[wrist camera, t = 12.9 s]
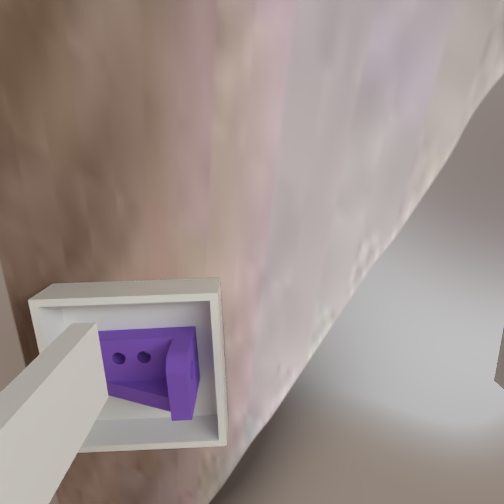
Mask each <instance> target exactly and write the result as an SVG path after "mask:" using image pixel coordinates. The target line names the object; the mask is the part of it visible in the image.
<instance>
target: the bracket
mask: <svg viewBox="0 0 504 504" xmlns="http://www.w3.org/2000/svg"><path fill="white" fill-rule="evenodd" d="M98 335H99V341H100V347H101V353H102V359H103V366H104V372H105V378H106V384H107V390H108V395H109V396H113V397H116V398H120V399H124V400H128V401H132V402H135V403H139V404H143V405H147V406H151V407H154V408H158V409H162V410H166V411H170V412H171V419H172V421H180V420H192V418H193V413H194V408H195V403H196V397H197V392H198V387H199V381H200V371H199V360H198V349H197V338H196V328H195V326H187V327H166V328H146V329H126V330H106V331H98ZM144 351H145V352H148V353H149V354H148V353H145V352H144ZM121 353H122V354H121Z"/></svg>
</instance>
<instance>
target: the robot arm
mask: <svg viewBox="0 0 504 504" xmlns="http://www.w3.org/2000/svg"><path fill="white" fill-rule="evenodd" d="M494 380H495V382H497V383H498V384H499V385H500V386H501V387H502V388H503V389H504V330H503V335H502V341H501V346H500V352H499V357H498V363H497V368H496V374H495V379H494ZM108 397H109V396H108V390H107V384H106V378H105V372H104V366H103V359H102V353H101V347H100V341H99V335H98V329H97V323H96V322H90V323H72V324H71V325H70V326H68V327H67V328H66V329H65V330H64V331H63V332H62V333H61V334H60V335H59V336H58V337H57V338H56V339H55V340H54V341H53V342H52V343H51V344H50V345H49V346H48V347H47V348H46V349H45V350H44V351H43V352H42V353H41V354H40V355H38V356H37V357H36V358H35V359H34V360H33V361H32V362H31V363H30V364H29V365H28V366H27V367H26V368H25V369H24V370H23V371H22V372H21V373H20V374H19V375H18V376H17V377H16V378H15V379H14V380H13V381H12V382H11V383H10V384H8V385H7V387H5V388H4V389H3V390H2V391H1V392H0V504H49V503H50V501H51V499H52V497H53V495H54V494H55V492H56V490H57V488H58V487H59V485H60V483H61V481H62V479H63V478H64V476H65V474H66V472H67V470H68V469H69V467H70V465H71V463H72V462H73V460H74V458H75V456H76V454H77V453H78V451H79V449H80V447H81V445H82V444H83V442H84V440H85V438H86V437H87V435H88V433H89V431H90V429H91V428H92V426H93V424H94V422H95V421H96V419H97V417H98V415H99V413H100V412H101V410H102V408H103V406H104V404H105V403H106V401H107V399H108Z"/></svg>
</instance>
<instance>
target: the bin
mask: <svg viewBox="0 0 504 504" xmlns="http://www.w3.org/2000/svg"><path fill="white" fill-rule="evenodd" d="M28 303H29V308H30V312H31V317H32V322H33V326H34V331H35V336H36V340H37V345H38V349H39V354H41V353H42V352H43V351H44V350H45V349H46V348H47V347H48V346H49V345H50V344H51V343H52V342H53V341H54V340H55V339H56V338H57V337H58V336H59V335H60V334H61V333H62V332H63V331H64V330H65V329H66V328H67V327H68V326H70V325H71V324H72V323H90V322H96V323H97V329H98V331H106V330H126V329H146V328H166V327H187V326H195V328H196V338H197V349H198V360H199V371H200V381H199V387H198V392H197V397H196V403H195V408H194V413H193V418H192V420H180V421H172V419H171V412H170V411H166V410H162V409H158V408H154V407H151V406H147V405H143V404H139V403H135V402H132V401H128V400H124V399H120V398H116V397H113V396H109V395H108V396H109V397H108V399H107V401H106V403H105V404H104V406H103V408H102V410H101V412H100V413H99V415H98V417H97V419H96V421H95V422H94V424H93V426H92V428H91V429H90V431H89V433H88V435H87V437H86V438H85V440H84V442H83V444H82V445H81V447H80V449H79V451H78V453H83V452H104V451H126V450H148V449H170V448H192V447H213V446H227V428H228V405H227V387H226V370H225V352H224V334H223V317H222V299H221V282H220V277H219V278H192V279H164V280H137V281H110V282H83V283H56V284H51V285H50V286H48V287H47V288H45V289H44V290H42V291H41V292H39V293H38V294H36V295H35V296H33V297H32V298H30V299H29V300H28ZM144 352H145V351H144ZM145 353H148V352H145ZM121 354H122V353H121ZM148 354H149V353H148Z"/></svg>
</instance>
